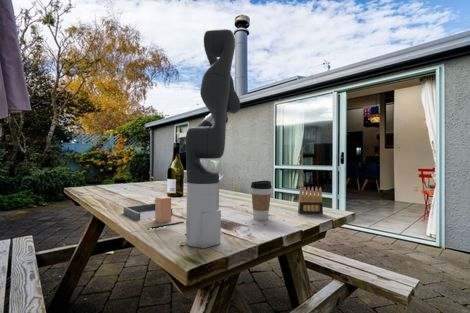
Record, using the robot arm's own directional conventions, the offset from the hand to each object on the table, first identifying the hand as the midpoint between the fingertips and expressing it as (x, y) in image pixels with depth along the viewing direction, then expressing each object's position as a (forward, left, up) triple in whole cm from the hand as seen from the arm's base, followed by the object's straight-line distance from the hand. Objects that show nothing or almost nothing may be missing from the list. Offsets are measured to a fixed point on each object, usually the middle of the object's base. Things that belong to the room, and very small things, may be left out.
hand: (185, 151), depth 102 cm
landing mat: (-4, +12, -27) cm, 29 cm away
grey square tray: (+10, +12, -27) cm, 31 cm away
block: (-4, +12, -26) cm, 29 cm away
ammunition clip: (-30, -46, -27) cm, 61 cm away
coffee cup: (-22, -22, -27) cm, 41 cm away
